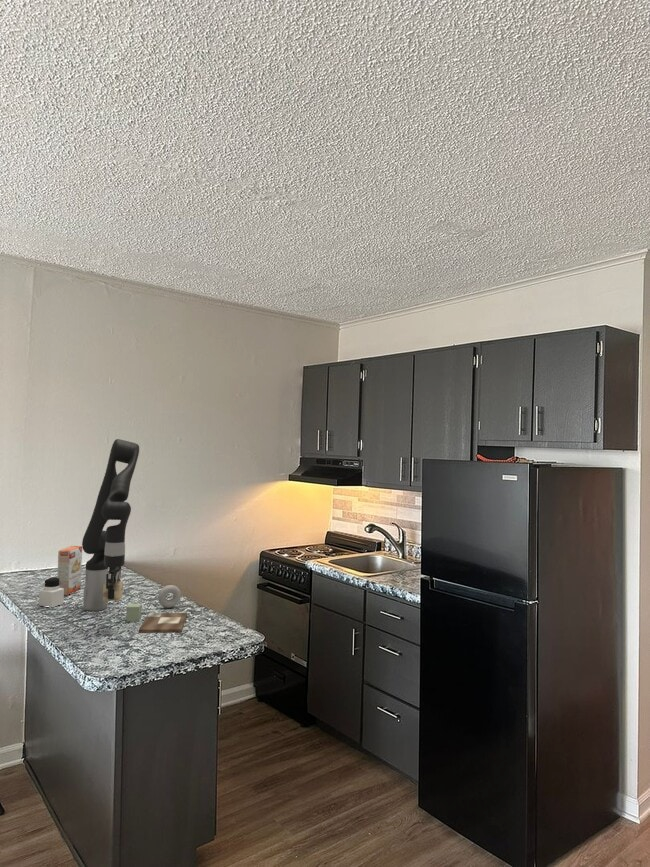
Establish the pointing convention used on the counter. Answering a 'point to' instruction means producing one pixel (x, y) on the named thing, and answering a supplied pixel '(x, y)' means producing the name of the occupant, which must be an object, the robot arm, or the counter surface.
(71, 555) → the cracker box
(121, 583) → the maple block
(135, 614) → the sage block
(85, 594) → the robot arm
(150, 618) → the baseplate
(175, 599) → the donut
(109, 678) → the counter surface
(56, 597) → the medicine bottle
